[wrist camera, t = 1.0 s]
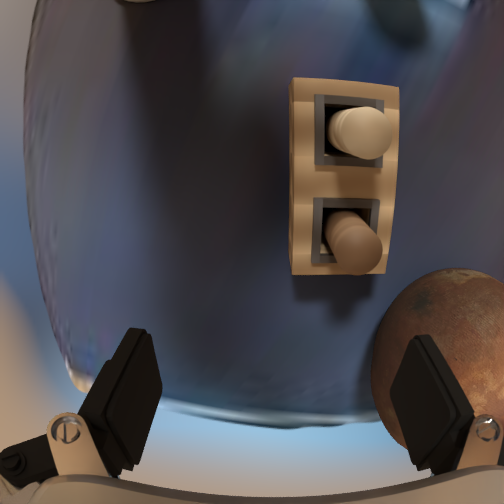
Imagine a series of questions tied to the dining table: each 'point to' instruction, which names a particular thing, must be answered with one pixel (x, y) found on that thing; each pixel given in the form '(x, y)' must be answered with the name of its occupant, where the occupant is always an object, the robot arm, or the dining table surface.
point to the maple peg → (360, 132)
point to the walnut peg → (352, 241)
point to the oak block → (336, 171)
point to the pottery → (446, 338)
